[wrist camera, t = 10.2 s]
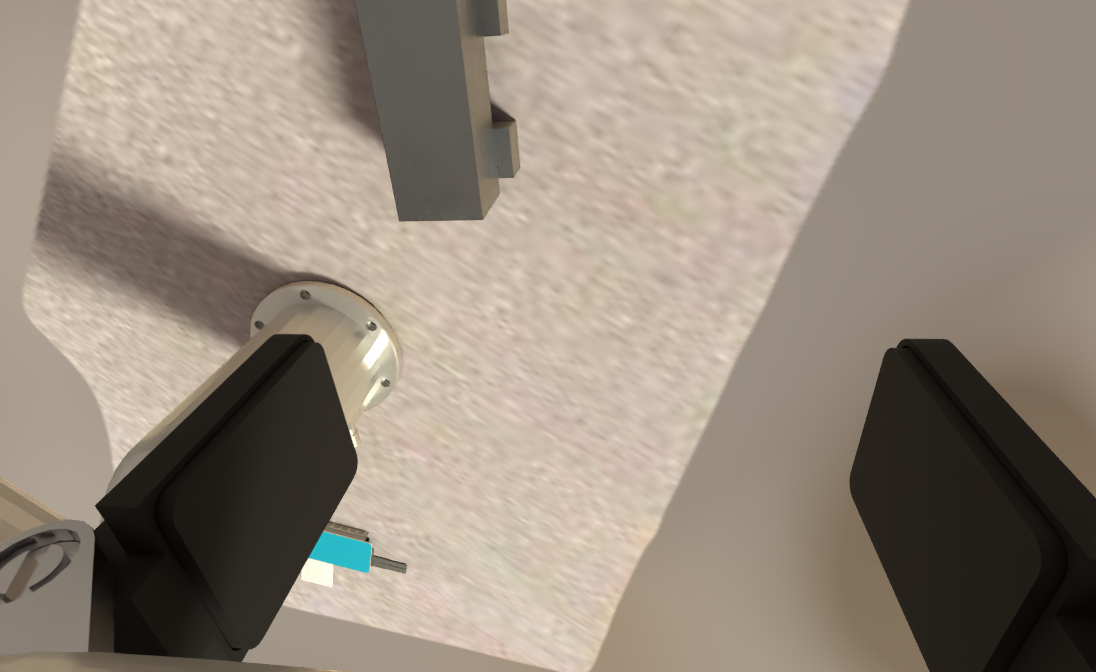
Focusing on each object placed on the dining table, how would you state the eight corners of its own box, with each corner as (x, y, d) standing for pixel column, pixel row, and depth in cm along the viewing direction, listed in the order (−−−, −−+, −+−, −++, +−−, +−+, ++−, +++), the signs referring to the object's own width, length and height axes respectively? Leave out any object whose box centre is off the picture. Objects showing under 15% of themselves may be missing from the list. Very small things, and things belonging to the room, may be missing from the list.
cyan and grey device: (235, 556, 66) (227, 568, 65) (228, 487, 60) (218, 498, 58) (402, 599, 66) (397, 612, 65) (412, 534, 60) (407, 547, 59)
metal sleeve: (521, 182, 39) (500, 219, 32) (422, 184, 40) (382, 221, 33) (502, -37, 32) (472, -45, 26) (385, -28, 33) (327, -33, 27)
